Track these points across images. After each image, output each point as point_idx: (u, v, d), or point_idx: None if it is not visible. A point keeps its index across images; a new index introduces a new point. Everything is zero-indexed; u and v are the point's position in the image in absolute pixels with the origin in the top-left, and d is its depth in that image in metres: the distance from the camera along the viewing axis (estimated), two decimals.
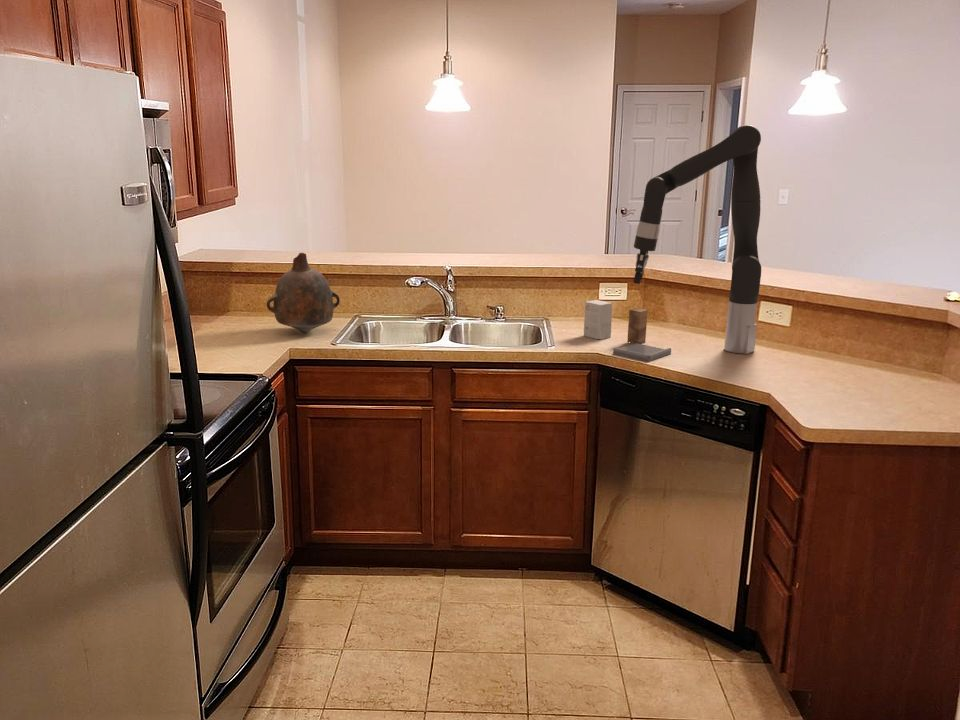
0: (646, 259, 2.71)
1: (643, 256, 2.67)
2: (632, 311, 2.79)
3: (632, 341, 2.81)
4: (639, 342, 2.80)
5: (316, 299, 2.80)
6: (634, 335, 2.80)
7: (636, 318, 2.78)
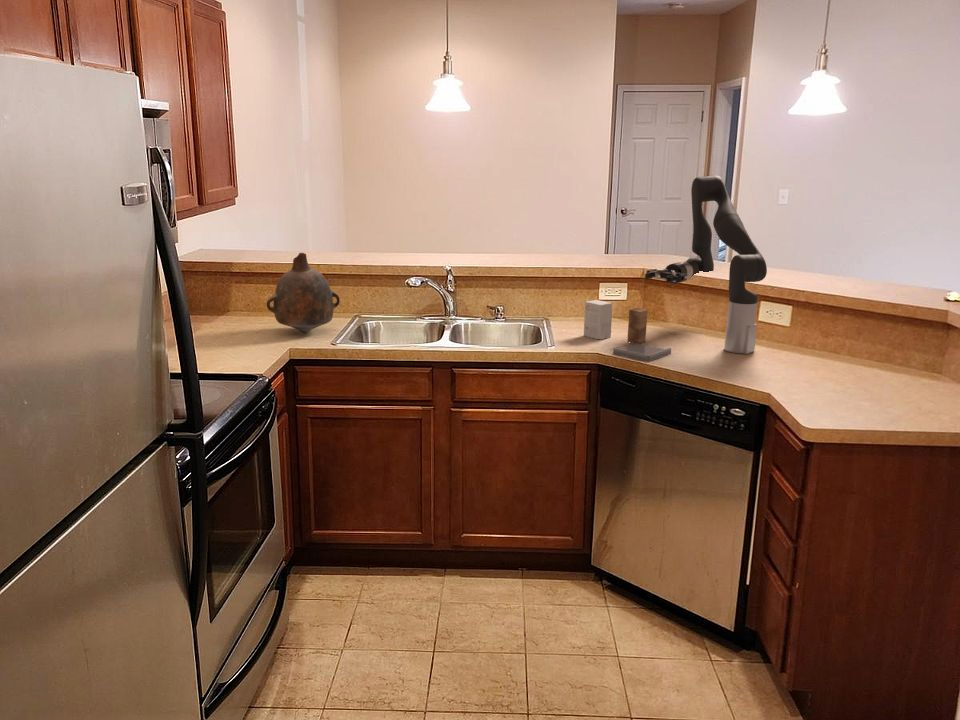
0: (662, 270, 2.91)
1: None
2: (632, 311, 2.79)
3: (632, 341, 2.81)
4: (639, 342, 2.80)
5: (316, 299, 2.80)
6: (634, 335, 2.80)
7: (636, 318, 2.78)
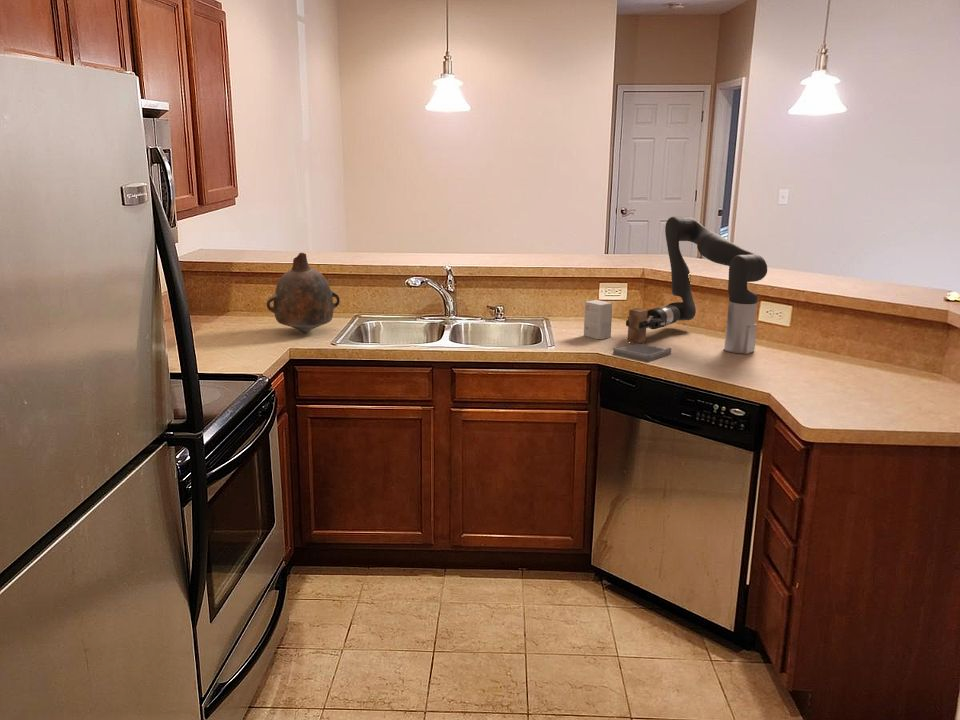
0: None
1: None
2: (632, 311, 2.79)
3: (632, 341, 2.81)
4: (639, 342, 2.80)
5: (316, 299, 2.80)
6: (634, 335, 2.80)
7: (636, 318, 2.78)
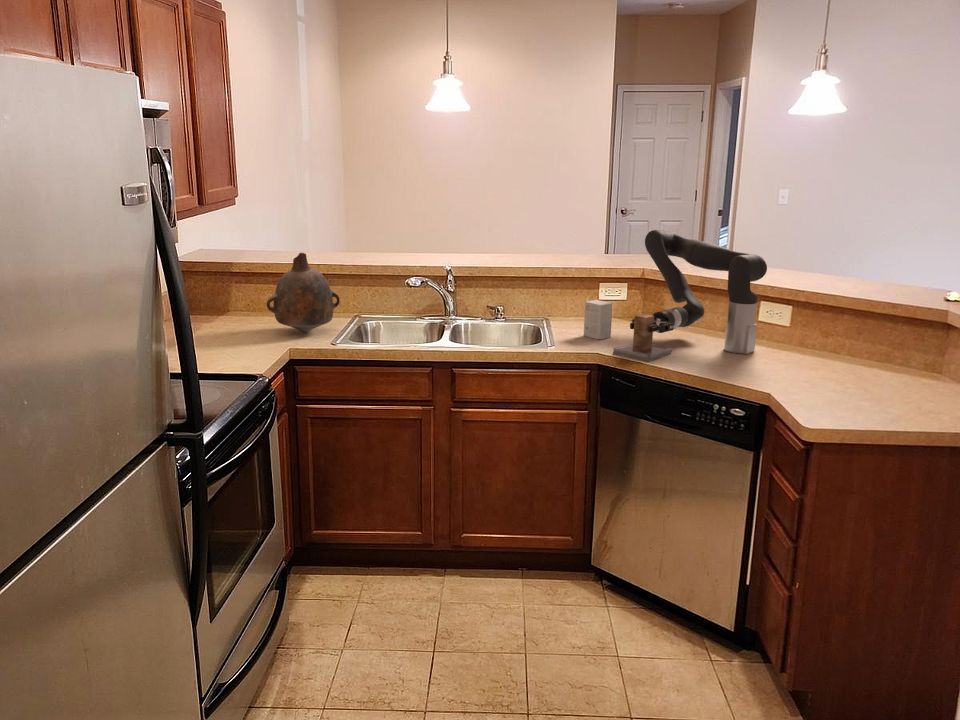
0: None
1: None
2: (638, 317, 2.63)
3: (638, 349, 2.66)
4: (645, 350, 2.64)
5: (316, 299, 2.80)
6: (640, 343, 2.65)
7: (642, 325, 2.63)
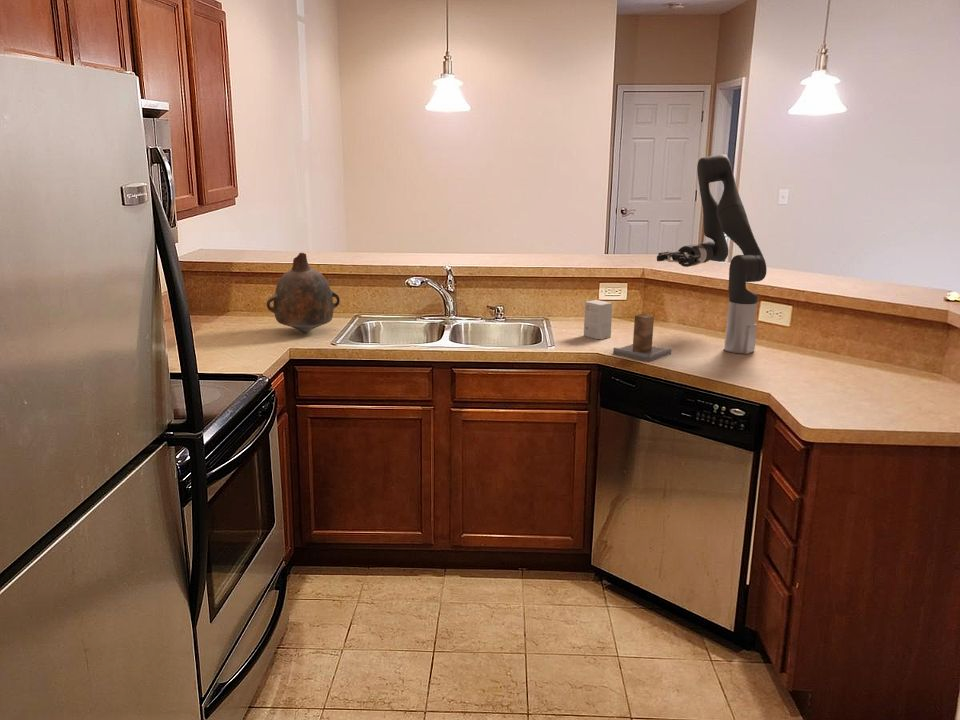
0: (675, 252, 2.81)
1: None
2: (638, 317, 2.63)
3: (638, 349, 2.66)
4: (645, 350, 2.64)
5: (316, 299, 2.80)
6: (640, 343, 2.65)
7: (642, 325, 2.63)
